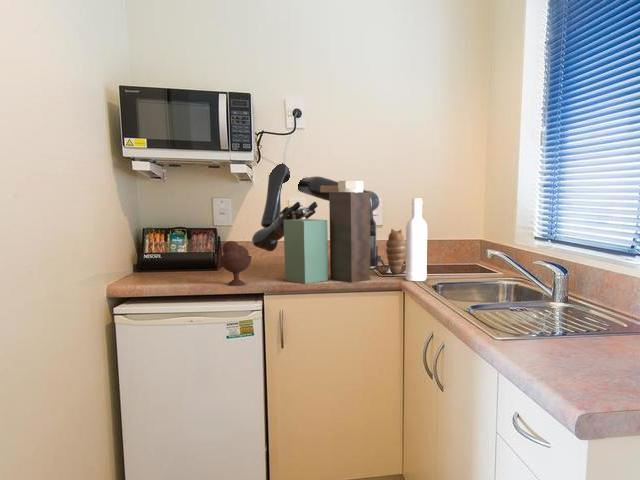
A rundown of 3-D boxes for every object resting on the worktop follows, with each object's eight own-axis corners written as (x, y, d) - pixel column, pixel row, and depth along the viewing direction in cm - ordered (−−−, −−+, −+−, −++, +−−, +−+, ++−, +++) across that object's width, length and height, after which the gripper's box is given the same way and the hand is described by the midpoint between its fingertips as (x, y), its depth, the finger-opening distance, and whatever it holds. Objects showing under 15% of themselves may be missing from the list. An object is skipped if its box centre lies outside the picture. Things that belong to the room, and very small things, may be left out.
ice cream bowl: (232, 288, 170) (230, 242, 167) (213, 284, 176) (211, 240, 174) (259, 284, 178) (257, 240, 176) (240, 280, 185) (238, 239, 182)
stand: (349, 276, 198) (348, 192, 193) (370, 279, 191) (370, 192, 186) (330, 279, 190) (329, 192, 185) (351, 282, 183) (351, 192, 178)
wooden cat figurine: (409, 274, 206) (410, 229, 203) (397, 276, 200) (397, 230, 197) (393, 271, 211) (393, 228, 209) (380, 273, 205) (380, 228, 203)
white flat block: (331, 192, 198) (331, 181, 197) (368, 192, 186) (368, 181, 185) (313, 192, 191) (313, 181, 190) (350, 192, 179) (350, 180, 178)
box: (308, 277, 195) (307, 219, 192) (328, 280, 189) (327, 220, 185) (285, 280, 187) (283, 219, 183) (305, 283, 180) (303, 220, 177)
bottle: (416, 277, 197) (417, 198, 193) (430, 279, 192) (432, 198, 187) (400, 279, 192) (401, 198, 187) (415, 282, 186) (416, 198, 182)
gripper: (268, 215, 205) (290, 195, 195) (296, 214, 216) (318, 195, 206) (274, 232, 204) (297, 212, 194) (302, 230, 215) (325, 212, 205)
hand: (307, 203), depth 200 cm, fingers open, 8 cm apart
